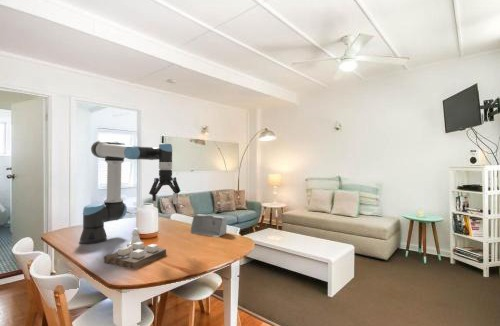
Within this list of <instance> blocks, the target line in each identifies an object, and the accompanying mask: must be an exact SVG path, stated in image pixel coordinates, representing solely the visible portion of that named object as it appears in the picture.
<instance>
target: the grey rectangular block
mask: <svg viewBox="0 0 500 326" xmlns="http://www.w3.org/2000/svg"><path fill="white" fill-rule="evenodd" d="M192 217H193V218H192V222H191V227H190V234H195V235H202V236H207V237H208V236H209V237H214V238H220V237H222V236H224V235H226V234H227V228H228V227H227V225H228V224H227V223H228V221H227V217H226V216H220V215H211V214H204V213H203V214H202V213H201V214H200V213H198V214H195V215H193V216H192Z"/></svg>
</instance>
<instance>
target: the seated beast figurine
mask: <svg viewBox="0 0 500 326" xmlns="http://www.w3.org/2000/svg"><path fill="white" fill-rule="evenodd" d="M140 232H141V230H140V228H139V227H134V229H133V230H132V233H131V235H132V237H131V241H130V242H129V243H127V244H126V247H129V248H130V247H133V243H136V242H143V241H142V240H141V239H140V235H139V234H140Z"/></svg>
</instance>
